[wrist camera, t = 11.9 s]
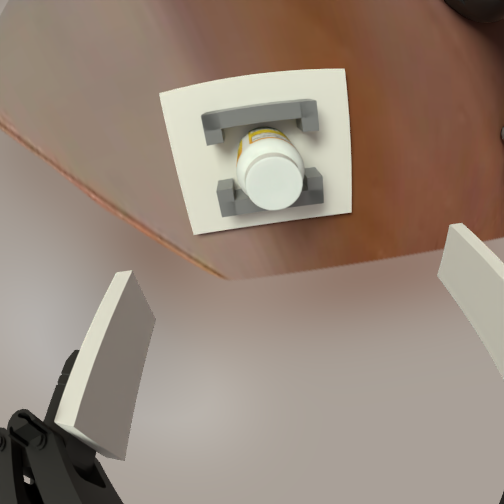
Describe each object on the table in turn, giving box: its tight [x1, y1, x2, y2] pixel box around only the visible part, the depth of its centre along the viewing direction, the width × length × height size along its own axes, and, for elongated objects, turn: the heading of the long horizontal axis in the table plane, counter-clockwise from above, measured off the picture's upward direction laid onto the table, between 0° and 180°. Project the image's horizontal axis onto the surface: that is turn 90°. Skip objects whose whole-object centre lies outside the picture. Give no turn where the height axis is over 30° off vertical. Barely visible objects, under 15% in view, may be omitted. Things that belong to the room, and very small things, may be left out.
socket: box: [159, 69, 352, 235], centre depth 26 cm, size 18×16×4 cm
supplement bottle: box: [236, 126, 305, 210], centre depth 23 cm, size 5×5×10 cm
